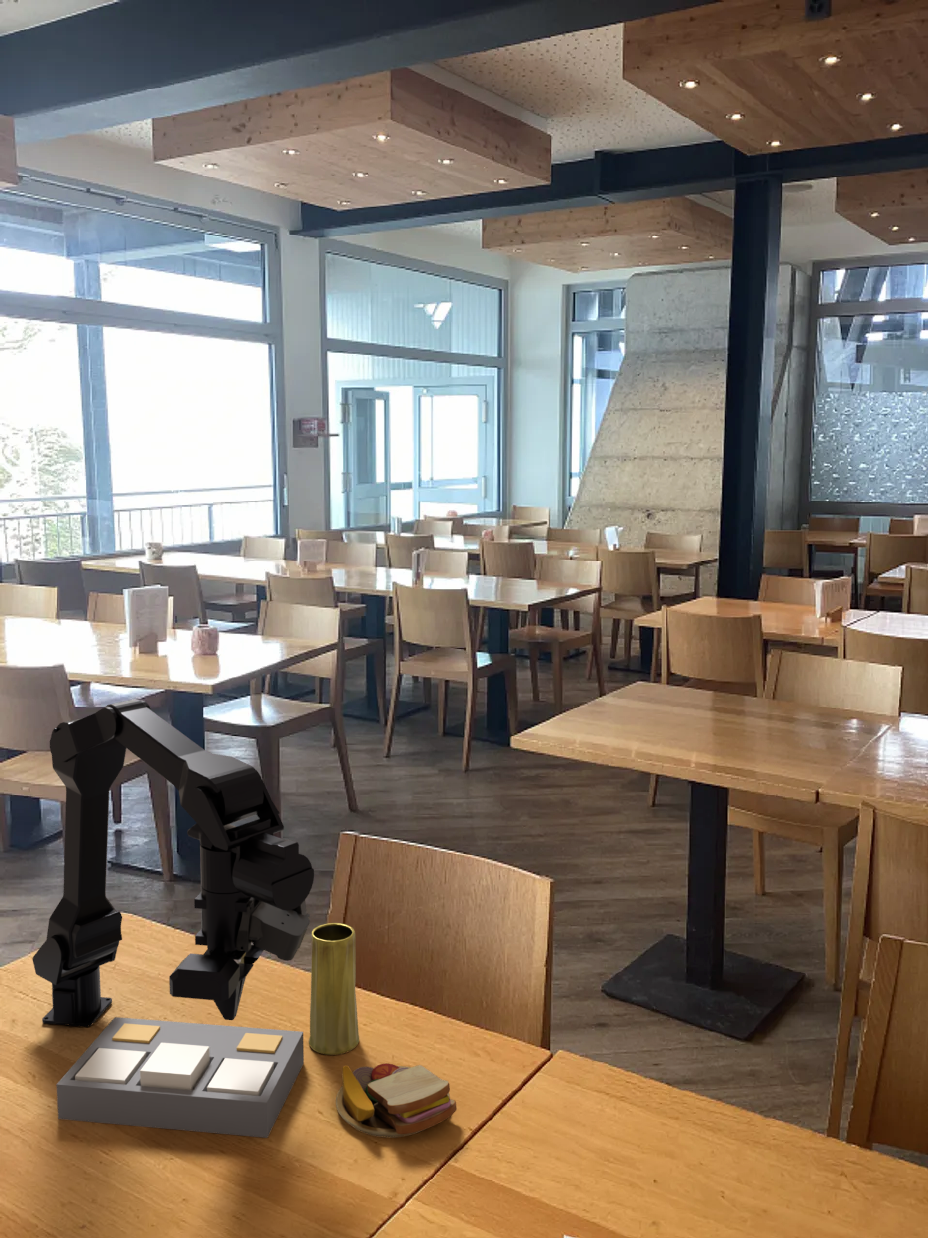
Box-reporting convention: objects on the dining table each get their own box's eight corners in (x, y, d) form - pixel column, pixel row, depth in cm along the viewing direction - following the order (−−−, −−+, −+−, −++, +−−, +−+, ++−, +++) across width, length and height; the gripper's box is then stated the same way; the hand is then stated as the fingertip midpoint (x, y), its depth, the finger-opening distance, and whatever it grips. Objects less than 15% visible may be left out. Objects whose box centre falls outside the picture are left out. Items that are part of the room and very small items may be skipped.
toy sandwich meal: (423, 1065, 125) (423, 1028, 125) (472, 1131, 113) (472, 1090, 113) (321, 1091, 120) (320, 1052, 119) (361, 1162, 108) (360, 1119, 107)
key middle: (161, 1063, 119) (161, 1042, 119) (209, 1067, 119) (209, 1046, 118) (140, 1092, 114) (140, 1071, 114) (191, 1096, 113) (190, 1075, 113)
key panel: (58, 1119, 114) (56, 1082, 113) (116, 1048, 128) (114, 1014, 127) (267, 1138, 111) (266, 1100, 111) (303, 1063, 125) (303, 1029, 124)
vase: (350, 1059, 126) (349, 945, 124) (301, 1052, 127) (300, 940, 125) (365, 1032, 132) (364, 923, 130) (318, 1026, 133) (317, 918, 131)
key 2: (225, 1079, 119) (225, 1058, 118) (274, 1083, 118) (273, 1062, 118) (207, 1109, 113) (206, 1087, 113) (258, 1113, 113) (257, 1091, 112)
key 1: (99, 1068, 121) (98, 1048, 120) (146, 1072, 120) (146, 1051, 119) (76, 1097, 115) (75, 1076, 115) (125, 1101, 114) (124, 1080, 114)
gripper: (275, 927, 103) (276, 1074, 106) (323, 855, 122) (323, 982, 124) (165, 918, 105) (169, 1064, 107) (230, 849, 123) (231, 975, 125)
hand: (230, 1018), depth 116 cm, fingers closed
